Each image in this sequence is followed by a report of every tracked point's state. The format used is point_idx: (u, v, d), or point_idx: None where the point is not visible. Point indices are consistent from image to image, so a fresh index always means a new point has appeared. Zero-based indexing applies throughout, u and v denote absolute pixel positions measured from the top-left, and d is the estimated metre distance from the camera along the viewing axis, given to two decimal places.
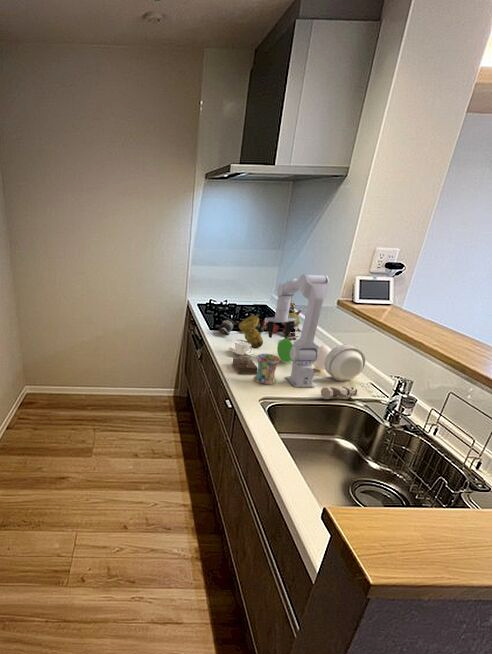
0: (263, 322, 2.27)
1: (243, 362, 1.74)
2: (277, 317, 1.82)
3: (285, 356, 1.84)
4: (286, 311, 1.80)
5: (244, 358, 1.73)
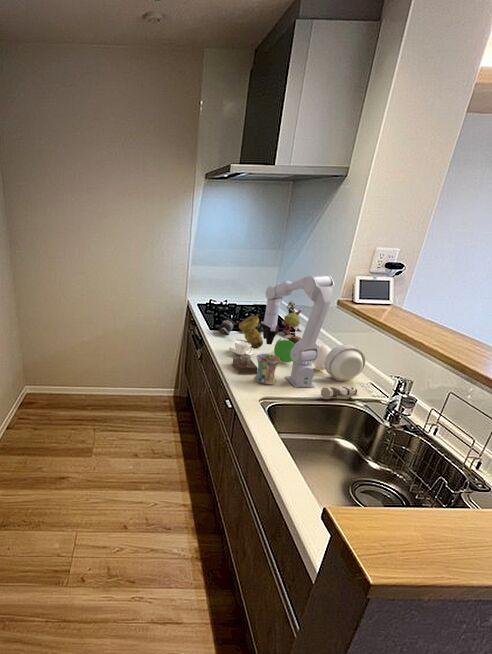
0: None
1: (243, 362, 1.74)
2: (275, 322, 1.76)
3: (286, 357, 1.83)
4: None
5: (244, 358, 1.73)
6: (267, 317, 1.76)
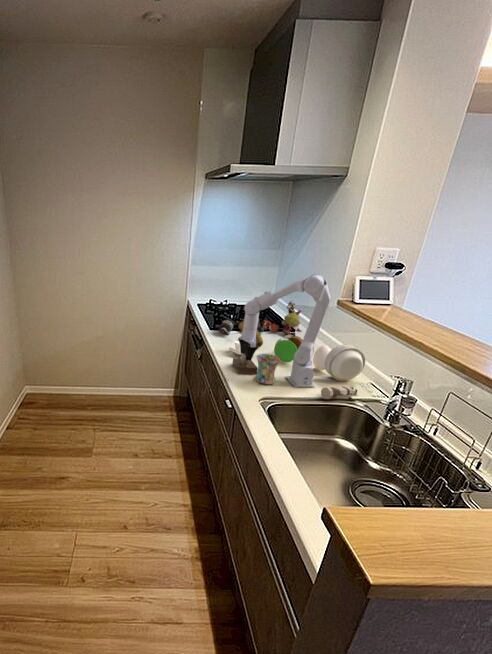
0: (263, 322, 2.27)
1: (243, 362, 1.74)
2: (253, 337, 1.68)
3: (286, 357, 1.83)
4: None
5: (244, 358, 1.73)
6: (245, 332, 1.68)
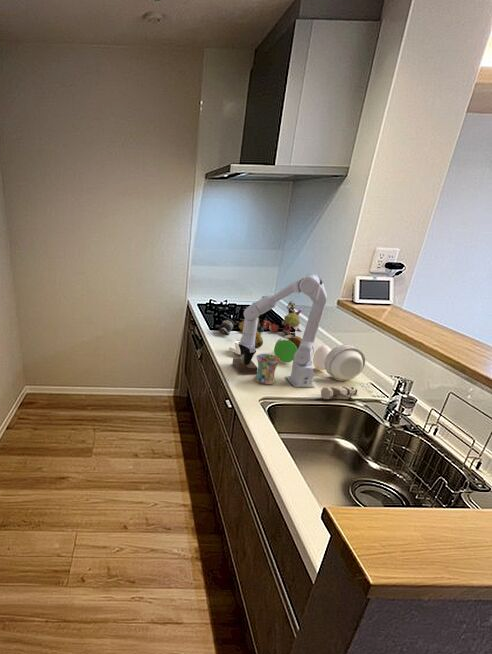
0: (263, 322, 2.27)
1: (243, 362, 1.74)
2: (253, 342, 1.69)
3: (286, 357, 1.83)
4: None
5: None
6: (244, 337, 1.69)
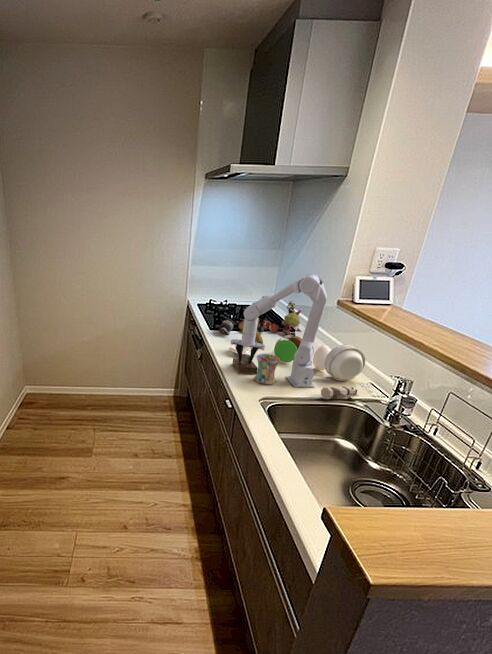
0: (263, 322, 2.27)
1: (247, 362, 1.74)
2: None
3: (286, 357, 1.83)
4: None
5: (248, 358, 1.73)
6: (251, 338, 1.68)
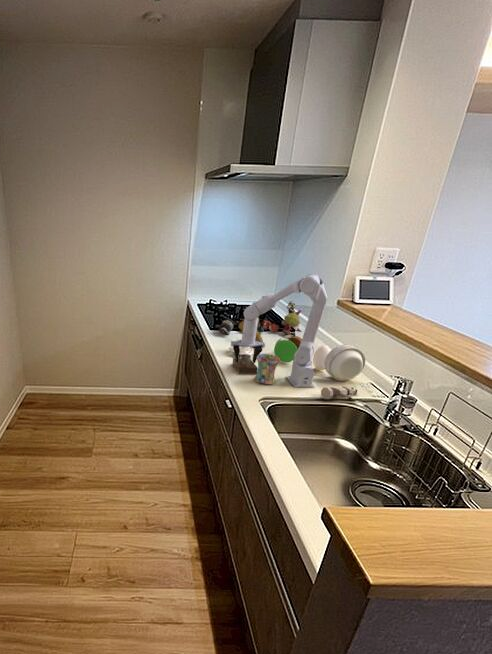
0: (263, 322, 2.27)
1: (249, 362, 1.74)
2: None
3: (286, 357, 1.83)
4: None
5: None
6: (254, 338, 1.68)
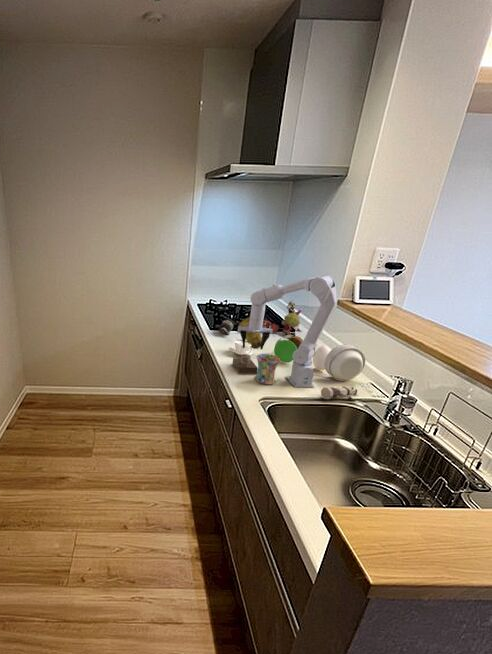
0: (263, 322, 2.27)
1: (249, 362, 1.74)
2: None
3: (286, 357, 1.83)
4: None
5: None
6: (260, 324, 1.68)
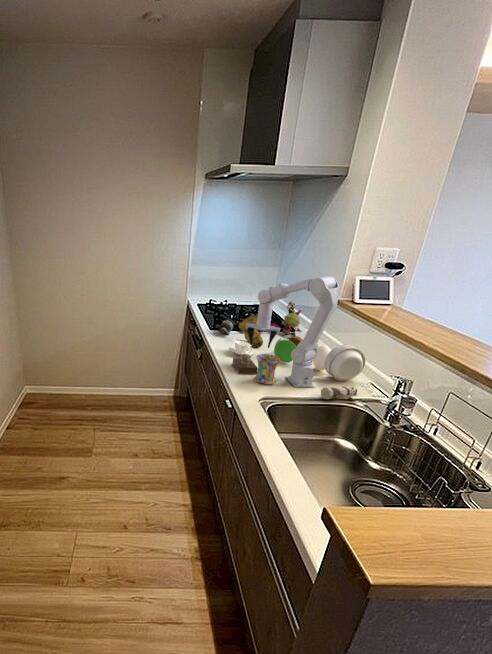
0: None
1: (249, 362, 1.74)
2: None
3: (286, 357, 1.83)
4: None
5: None
6: (267, 322, 1.71)
